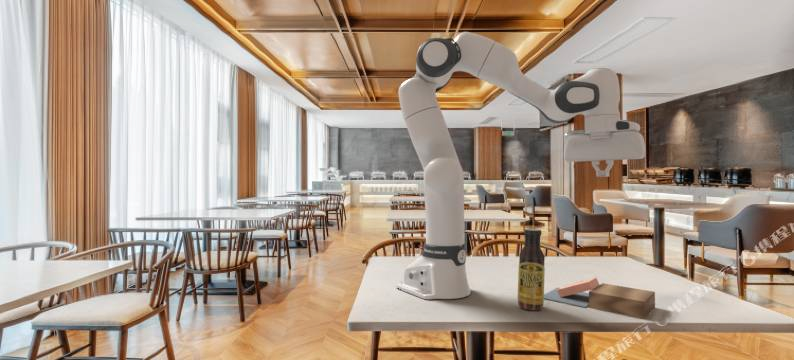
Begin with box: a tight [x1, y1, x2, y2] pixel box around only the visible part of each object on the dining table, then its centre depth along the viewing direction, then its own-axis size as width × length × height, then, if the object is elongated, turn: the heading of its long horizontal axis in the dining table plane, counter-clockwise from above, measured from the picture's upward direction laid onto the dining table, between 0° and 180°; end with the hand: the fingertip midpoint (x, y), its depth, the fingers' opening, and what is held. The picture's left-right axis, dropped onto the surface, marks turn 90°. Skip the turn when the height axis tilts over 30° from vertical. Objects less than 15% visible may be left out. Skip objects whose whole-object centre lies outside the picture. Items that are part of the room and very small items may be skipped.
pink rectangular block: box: [557, 277, 600, 297], centre depth 103 cm, size 9×6×2 cm, turn 46°
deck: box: [588, 282, 656, 320], centre depth 96 cm, size 12×11×4 cm
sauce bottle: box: [517, 228, 546, 311], centre depth 96 cm, size 6×6×20 cm
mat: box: [544, 287, 589, 309], centre depth 104 cm, size 12×13×1 cm
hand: (602, 176), depth 106 cm, fingers closed
